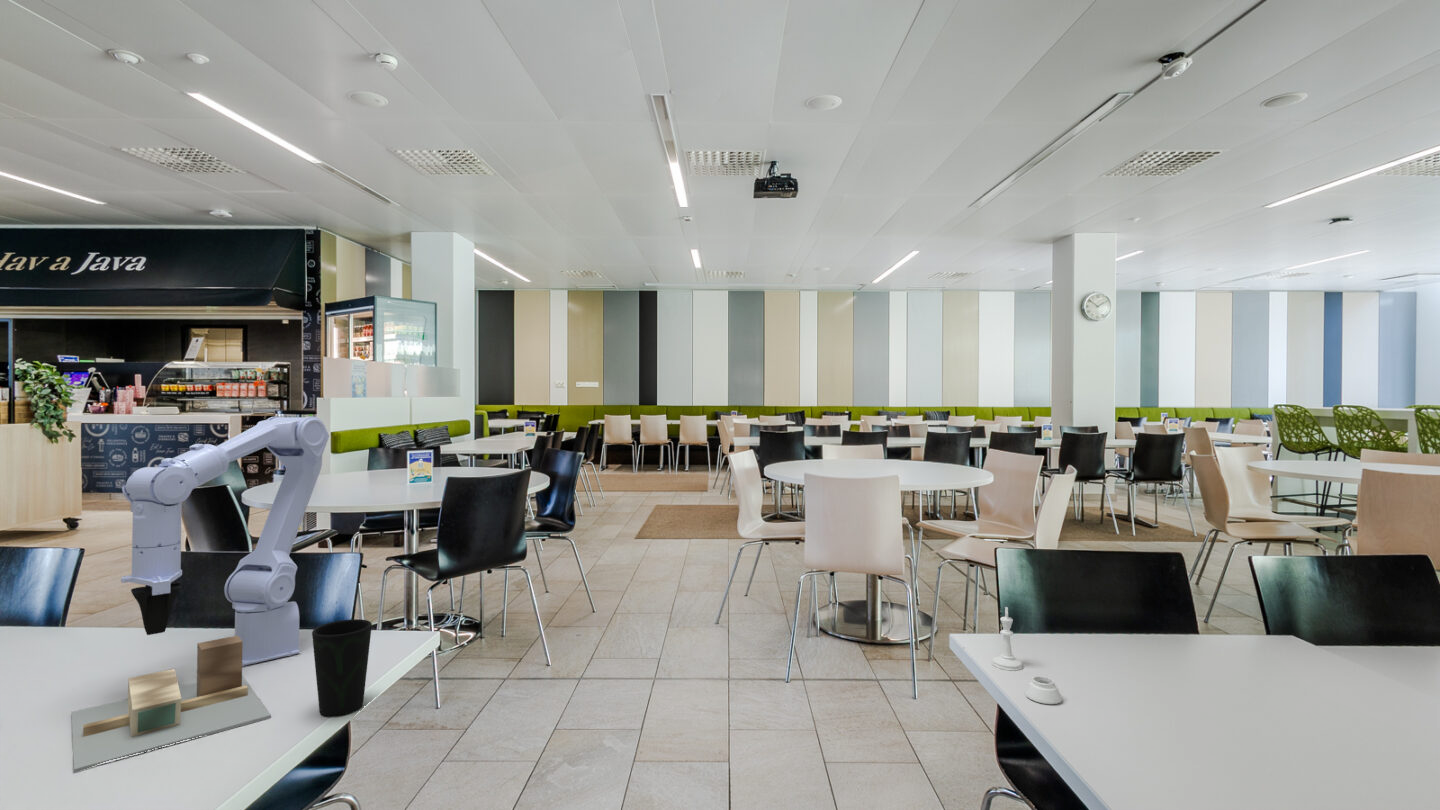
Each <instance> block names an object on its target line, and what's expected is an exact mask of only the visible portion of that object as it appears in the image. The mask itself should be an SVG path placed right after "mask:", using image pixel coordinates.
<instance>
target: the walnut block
mask: <svg viewBox="0 0 1440 810" xmlns="http://www.w3.org/2000/svg"><path fill="white" fill-rule="evenodd" d="M196 645H197V647H196V648H197V649H196V650H197V652H196V653H197V654H196V656H197V657H196V661H197V662H196V664H197V665H196V683H197V697H200V696H204V695H208V694H212V693H216V692H221V691H225V690H229V689H233V688H237V687H241V686H242V675H243V666H242V645H243V641H242V640H241V639H240V638H239V637H238V635H237V636H235V635H234V636H233V635H231V636H227V637H223V638H218V639H211V640H208V641H203V642H197V644H196Z"/></svg>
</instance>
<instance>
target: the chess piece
mask: <svg viewBox="0 0 1440 810" xmlns="http://www.w3.org/2000/svg"><path fill="white" fill-rule="evenodd" d="M1004 614H1005V615H1004V616H1001V617H1000V623H1001V625H1002V629H1001V630H1000V631H999V633H1000V635H1003V641H1002V649H1001V653H999V655H997V656H994V657H992V659H991V660H992V661H991V665H993V667H995V668H998V669H1000V670H1005V671H1011V672H1012V671H1020V670H1022V669H1023V667H1024V666H1023V663H1022V661H1021V660H1020V659H1018V658H1016V657H1015V656H1014V654H1013V652H1012V644H1011V636H1013V635H1014V632H1013V631H1012V630H1010V629H1011V628H1012V624H1013V621H1014V620H1013V618H1012V617H1009V608H1008V606H1004Z"/></svg>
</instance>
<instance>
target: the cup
mask: <svg viewBox="0 0 1440 810" xmlns="http://www.w3.org/2000/svg"><path fill="white" fill-rule="evenodd" d="M372 626H373V624H372V622H371V621H369V620H367V619H360V618H359V619H356V618H355V619H354V618H353V619H344V620H337V621H333V622H328V623H324V624H322V625H319V626H317V627H315V628H314V629H313V630H312V631H311V636H312V646H313V656H314V665H315V666H314V667H315V679H316V689H317V690H316V691H317V698H318V699H317V701H318V709H319V715H320V716H321V717H326V718H339V717H344V716H348V715H351V714H353V713H355V712H357V711H359V710H361V709H362V708H363V706H364V699H365V692H366V691H365V689H366V682H367V672H368V665H369V664H368V663H369V654H370V645H371V644H370V643H371V637H372V635H371V634H372Z"/></svg>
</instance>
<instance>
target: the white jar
mask: <svg viewBox="0 0 1440 810" xmlns="http://www.w3.org/2000/svg"><path fill="white" fill-rule="evenodd" d="M1024 694H1025V696H1026V698H1028V699H1030V700H1031V701H1033V702H1034V703H1035V702H1036V703H1037V704H1038V703H1039V704H1041V705H1056V704H1060V703H1062V701H1063V696H1062V694H1061V693H1060V691H1059V688H1058V687H1057V685H1056V684H1055V681H1054V680H1053V679H1052V678H1049V677H1047V676H1039V675H1038V676H1037V675H1036V676H1033V677H1032V678H1031V681H1030V682H1029V684H1028V685H1027V687H1026V688H1025V691H1024Z"/></svg>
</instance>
